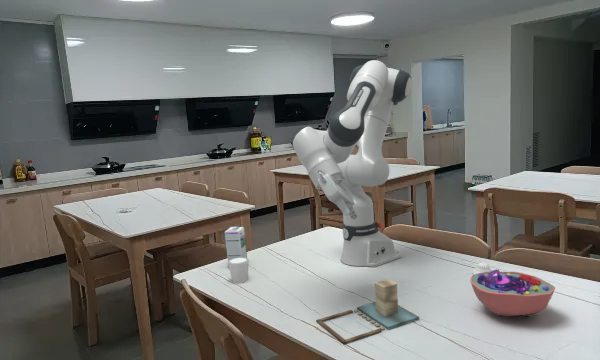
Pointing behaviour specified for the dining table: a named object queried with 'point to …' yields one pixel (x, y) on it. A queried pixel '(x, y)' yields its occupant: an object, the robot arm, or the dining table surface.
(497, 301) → the cell model
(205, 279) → the dining table surface
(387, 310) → the birch stub block
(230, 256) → the syrup box
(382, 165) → the robot arm
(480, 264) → the muffin
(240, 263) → the white cylinder
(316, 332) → the dining table surface
